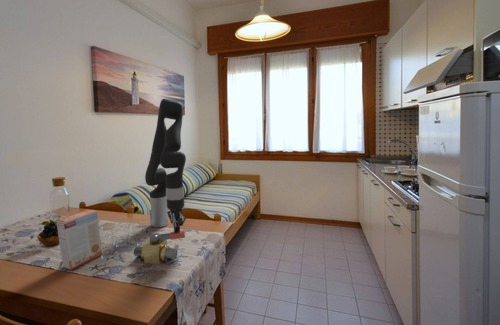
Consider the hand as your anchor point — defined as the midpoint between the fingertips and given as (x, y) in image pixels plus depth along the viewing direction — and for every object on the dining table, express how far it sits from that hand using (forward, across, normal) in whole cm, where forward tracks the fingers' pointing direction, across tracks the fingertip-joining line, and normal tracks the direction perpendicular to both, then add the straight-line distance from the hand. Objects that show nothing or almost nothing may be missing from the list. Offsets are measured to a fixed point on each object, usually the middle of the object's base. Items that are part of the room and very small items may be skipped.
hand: (177, 233), depth 119 cm
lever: (0, +1, -5) cm, 5 cm away
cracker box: (+10, -23, -33) cm, 41 cm away
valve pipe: (+9, -1, -10) cm, 13 cm away
